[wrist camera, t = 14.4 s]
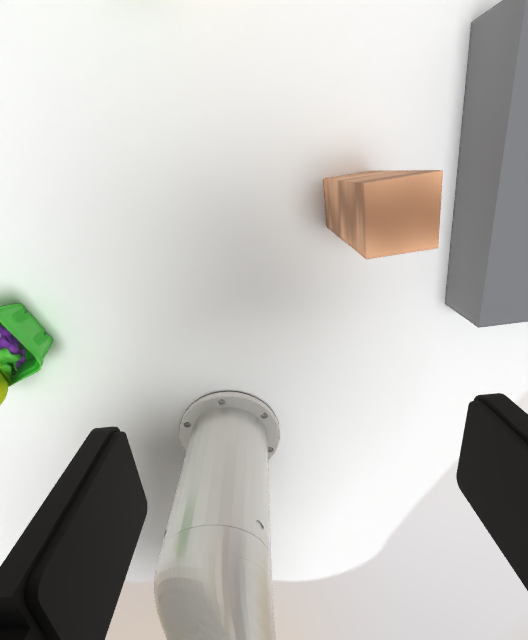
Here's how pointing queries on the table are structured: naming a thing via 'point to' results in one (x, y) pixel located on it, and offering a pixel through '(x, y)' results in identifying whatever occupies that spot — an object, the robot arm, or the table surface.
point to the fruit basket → (20, 346)
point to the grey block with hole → (493, 174)
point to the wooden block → (385, 210)
